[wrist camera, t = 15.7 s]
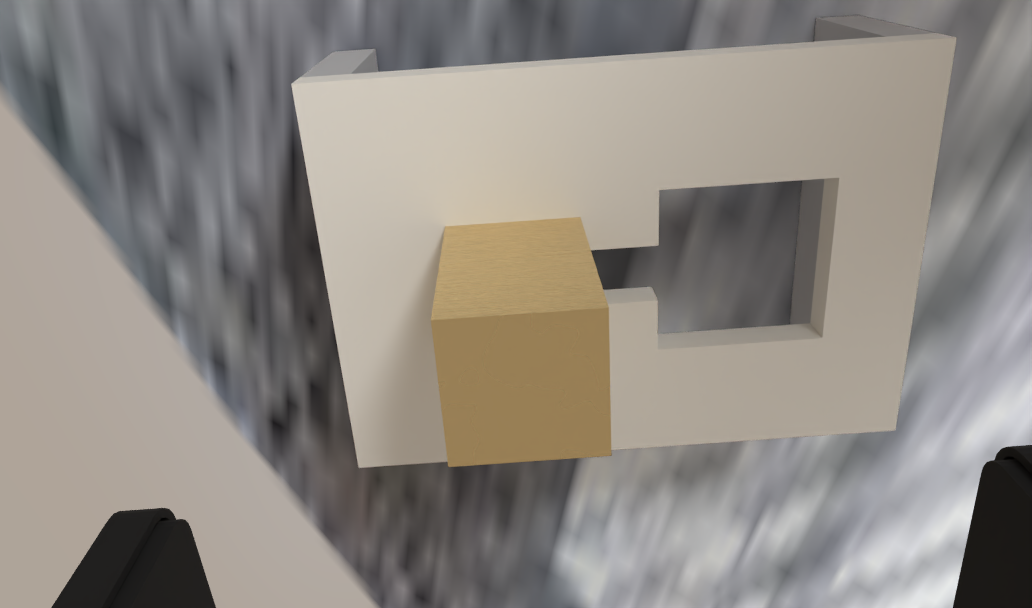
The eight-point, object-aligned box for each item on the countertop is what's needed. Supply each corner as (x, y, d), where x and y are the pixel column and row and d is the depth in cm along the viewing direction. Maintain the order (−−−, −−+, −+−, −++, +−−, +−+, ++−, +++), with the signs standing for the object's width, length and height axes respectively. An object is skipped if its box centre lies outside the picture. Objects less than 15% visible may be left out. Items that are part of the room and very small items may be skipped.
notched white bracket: (858, 14, 31) (956, 37, 24) (823, 341, 37) (895, 430, 30) (333, 51, 31) (291, 84, 24) (382, 372, 37) (358, 467, 30)
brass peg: (569, 183, 30) (608, 307, 20) (573, 292, 32) (611, 455, 22) (450, 191, 30) (430, 320, 20) (461, 299, 32) (448, 466, 22)
